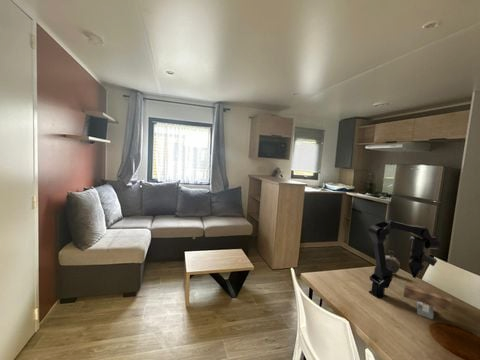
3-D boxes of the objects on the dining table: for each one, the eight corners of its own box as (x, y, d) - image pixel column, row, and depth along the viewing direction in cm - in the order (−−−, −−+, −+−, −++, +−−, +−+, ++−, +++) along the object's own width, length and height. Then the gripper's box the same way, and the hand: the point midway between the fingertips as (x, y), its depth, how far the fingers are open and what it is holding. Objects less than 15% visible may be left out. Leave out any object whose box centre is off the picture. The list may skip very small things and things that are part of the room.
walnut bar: (403, 296, 116) (405, 287, 115) (403, 293, 119) (404, 284, 118) (450, 311, 105) (452, 301, 105) (449, 307, 108) (450, 298, 108)
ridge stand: (416, 313, 110) (418, 304, 110) (417, 304, 118) (418, 295, 118) (432, 319, 107) (434, 309, 106) (431, 309, 114) (433, 300, 114)
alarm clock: (399, 275, 150) (401, 252, 149) (397, 278, 146) (400, 254, 145) (380, 269, 158) (383, 247, 156) (378, 271, 154) (381, 249, 152)
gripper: (437, 257, 113) (434, 286, 114) (435, 247, 127) (432, 274, 128) (410, 251, 120) (407, 278, 121) (411, 242, 134) (408, 267, 135)
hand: (414, 274), depth 126 cm, fingers open, 9 cm apart
